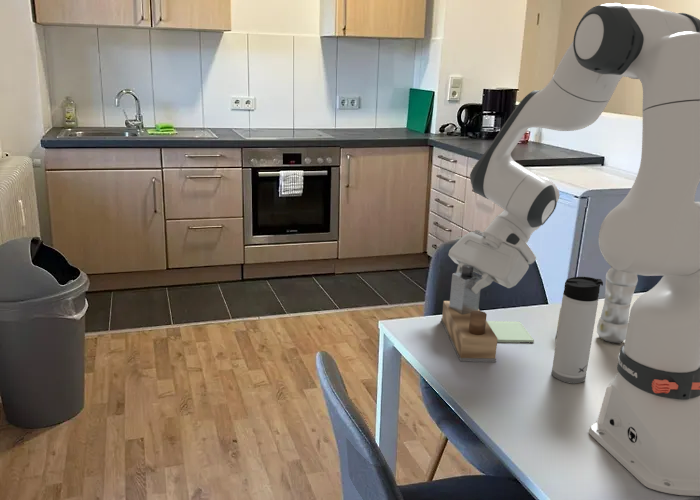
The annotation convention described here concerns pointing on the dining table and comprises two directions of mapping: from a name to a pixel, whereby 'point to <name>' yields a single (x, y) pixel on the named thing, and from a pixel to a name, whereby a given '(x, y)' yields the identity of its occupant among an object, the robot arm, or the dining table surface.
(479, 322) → the plane body
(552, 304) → the dining table surface
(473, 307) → the lever cap
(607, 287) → the plastic bottle
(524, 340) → the felt mat
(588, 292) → the travel mug
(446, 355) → the dining table surface
